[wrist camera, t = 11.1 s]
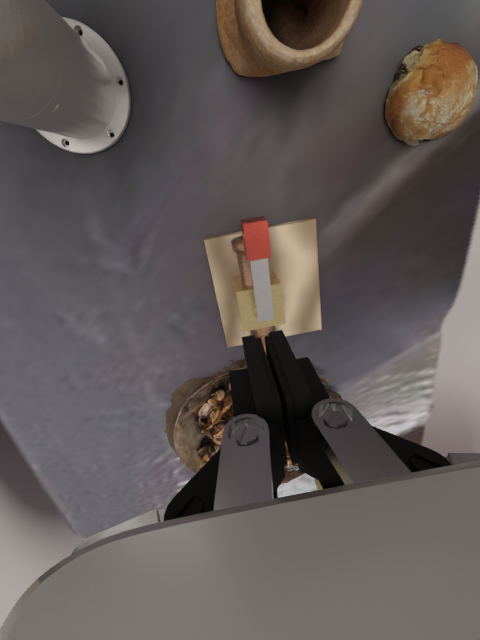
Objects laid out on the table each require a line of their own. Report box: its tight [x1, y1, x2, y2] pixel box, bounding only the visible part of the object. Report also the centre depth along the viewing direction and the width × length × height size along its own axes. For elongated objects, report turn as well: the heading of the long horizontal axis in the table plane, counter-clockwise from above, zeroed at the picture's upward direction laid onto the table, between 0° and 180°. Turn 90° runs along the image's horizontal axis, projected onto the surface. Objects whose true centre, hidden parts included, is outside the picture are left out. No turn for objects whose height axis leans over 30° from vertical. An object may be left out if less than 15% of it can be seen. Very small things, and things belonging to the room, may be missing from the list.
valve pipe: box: [231, 236, 286, 353], centre depth 44 cm, size 6×18×7 cm, turn 10°
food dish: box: [165, 359, 342, 485], centre depth 58 cm, size 35×33×8 cm
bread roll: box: [385, 38, 478, 146], centre depth 37 cm, size 10×10×8 cm
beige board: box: [204, 218, 322, 347], centre depth 47 cm, size 16×18×2 cm
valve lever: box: [240, 216, 274, 322], centre depth 36 cm, size 13×3×4 cm, turn 9°
